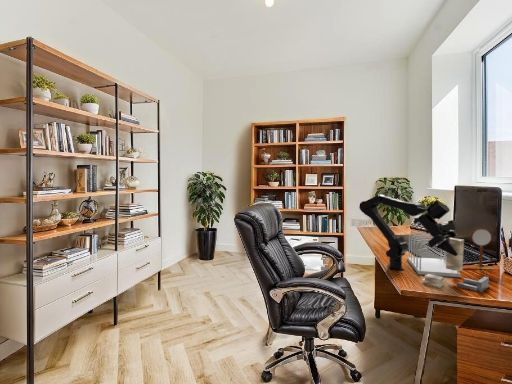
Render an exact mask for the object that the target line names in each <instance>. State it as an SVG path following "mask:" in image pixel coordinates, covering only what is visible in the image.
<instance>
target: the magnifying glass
mask: <svg viewBox="0 0 512 384" xmlns="http://www.w3.org/2000/svg"><path fill="white" fill-rule="evenodd" d="M470 237H471V242H473V244H474V245H476V246H477V247H479V257H478V258H479V260H478V261H479V262H478V263H479V264H478V268H479V269H482V268H483V252H484V246H488V245H489V244H490V243H491V242H492V240H493V236H492V233H491V232H490V231H489V230H488V229H486V228H481V227H480V228H476V229H475V230H473V231H472V233H471V236H470Z"/></svg>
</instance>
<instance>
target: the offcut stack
mask: <svg viewBox="0 0 512 384" xmlns="http://www.w3.org/2000/svg"><path fill="white" fill-rule="evenodd" d="M444 278H445V276H436V275H432V274H427V275H424V278H423V279H421V280H422V281H421V283H422V284H424V283H425V284H424V285H428V284H429V286H432V285H433V287H436V286H437V287H436V288H440V287H441V288H443V287H444V286H445V283H446V282H445V279H444Z"/></svg>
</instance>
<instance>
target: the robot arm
mask: <svg viewBox="0 0 512 384" xmlns="http://www.w3.org/2000/svg"><path fill="white" fill-rule="evenodd" d="M381 204H382V205H386V206H388V207H392V208H394V209H398V210H401V211H402V212H404V214H407V215H409V216H411V217H415V218H414V219H413V220H414V221H413V224H414V225H416V224H420V225H421V226H422V227H423V228H424V229H425V230H426V231H425V233H427V234H426V235H431V236H432V239H428V240H429V241H427V243H428V244H427V245H428V246H429V247H430V248H434V247H435V248H436V249H439V250H440V251H441V250H442V251H446V253H447V252H448V253H450V254H452V255H454V256H457V255H458V254H457V253H456V251H455V250H454V249H453V247H452V246H451V245H450V243H449V238H456V239H457V235H459V233H458V232H457V229H460V227H459V222H457V220H456V221H455V220H453V219H451V220H449V221H448V220H447V223H446V224H442V222H439V223H438V221H437V220H441V218H443V217H444V216H445V215H446V214H448V213H449V212H450V211H451V210H450V208H449V206H448V205H447V204H445V203H443V202H441V201H440V200H439V199H436V200H434V202H433V203H432V204H430V206H425V205H424V204H423V203H421V202H413V201H411V202H410V201H405V200H400V199H398V198H394V197H390V196H386V195H384V194H376V195H375V196H373V197H371V198H369V199H367V200H364V201H361V202H360V204H359V207H358V208H359V210H360V212H362V213H363V214H364V215H365V216H366V217H368V218H370V219H371V220H372V222H373V224H374V225H375V226H376V227H377V229H378V230H379V231H380V232H381V234H382V235H383V237H384V238H385V239H386V241H387V245H388V250H387V251H385V256H386V257H388V258H389V259H388V260H389V263H388V264H387V268H388V269H389V270H392V271H396V270H397V271H404V270H405V268H404V267H403V264H402V263H403V256H405V255H406V253H407V252H409V244H408V241H406V239H405V238H404V236H403V235H402V236H398V235H396V234H395V232H394V231H393V230H392V228H391V227H390V226H389V225H388V223H387V222H386V220H385V219H384V218H383V217H382V216H381V215H380V213H379V210H378V206H380V205H381ZM416 216H418V217H416ZM428 233H429V234H428ZM436 245H437V246H436Z"/></svg>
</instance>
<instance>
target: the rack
mask: <svg viewBox="0 0 512 384" xmlns="http://www.w3.org/2000/svg"><path fill="white" fill-rule="evenodd" d="M462 281H463V282H460V281H459V282H458V281H457V282H456V287H458V288H461V289H462V288H463V289H465V290H469V289H470V291H474V292H477V293H483V292H484V291H485V290H487V289H488V288H489V282H490V280H489V277H488V276H483V277H482V278H480V279H479V280H475V279H471V278H466V277H464V278H463V279H462Z"/></svg>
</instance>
